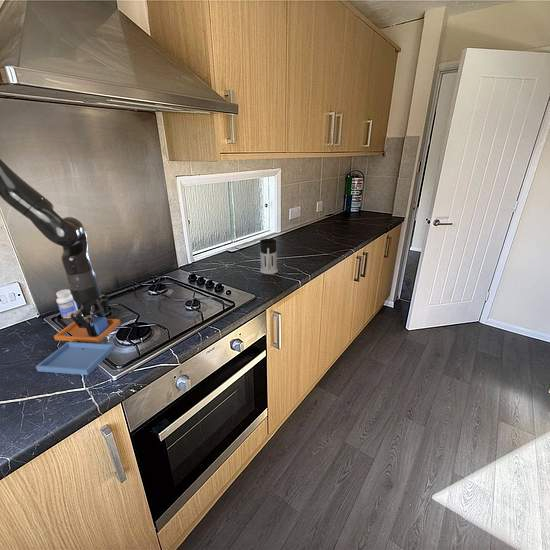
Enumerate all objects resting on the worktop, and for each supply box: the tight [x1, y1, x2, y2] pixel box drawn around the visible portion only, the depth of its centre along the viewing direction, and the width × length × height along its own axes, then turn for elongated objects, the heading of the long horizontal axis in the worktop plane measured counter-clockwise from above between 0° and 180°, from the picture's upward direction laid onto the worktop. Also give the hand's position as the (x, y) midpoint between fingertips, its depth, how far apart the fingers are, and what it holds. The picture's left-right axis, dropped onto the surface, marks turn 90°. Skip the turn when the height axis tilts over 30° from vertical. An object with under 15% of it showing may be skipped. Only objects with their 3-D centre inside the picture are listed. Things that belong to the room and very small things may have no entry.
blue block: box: [88, 316, 109, 336], centre depth 95 cm, size 4×4×4 cm
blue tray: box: [35, 341, 115, 376], centre depth 83 cm, size 15×11×2 cm
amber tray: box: [53, 318, 121, 344], centre depth 97 cm, size 15×11×2 cm
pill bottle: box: [55, 288, 78, 319], centre depth 106 cm, size 5×5×10 cm
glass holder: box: [259, 238, 279, 275], centre depth 137 cm, size 9×14×15 cm, turn 1°
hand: (98, 330), depth 96 cm, fingers closed on blue block, 4 cm apart
